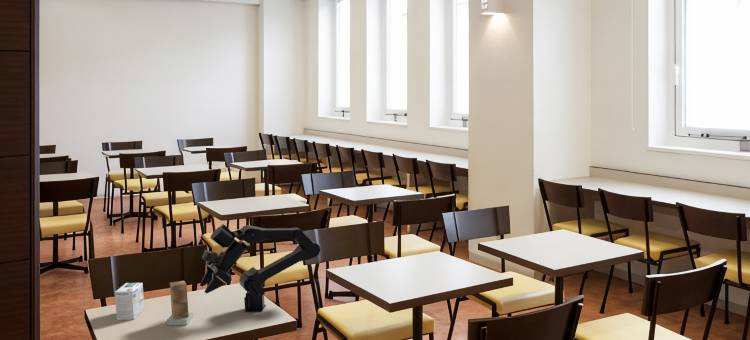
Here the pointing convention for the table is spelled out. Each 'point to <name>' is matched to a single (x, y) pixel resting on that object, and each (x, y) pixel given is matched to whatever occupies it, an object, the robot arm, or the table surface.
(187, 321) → the plinth
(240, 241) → the robot arm
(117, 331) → the table surface
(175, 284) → the pillar
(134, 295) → the light bulb box
